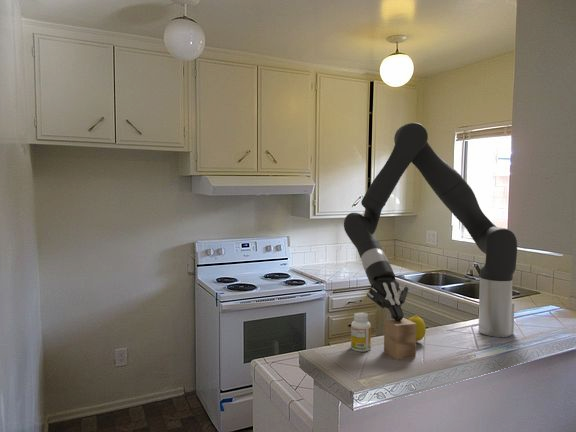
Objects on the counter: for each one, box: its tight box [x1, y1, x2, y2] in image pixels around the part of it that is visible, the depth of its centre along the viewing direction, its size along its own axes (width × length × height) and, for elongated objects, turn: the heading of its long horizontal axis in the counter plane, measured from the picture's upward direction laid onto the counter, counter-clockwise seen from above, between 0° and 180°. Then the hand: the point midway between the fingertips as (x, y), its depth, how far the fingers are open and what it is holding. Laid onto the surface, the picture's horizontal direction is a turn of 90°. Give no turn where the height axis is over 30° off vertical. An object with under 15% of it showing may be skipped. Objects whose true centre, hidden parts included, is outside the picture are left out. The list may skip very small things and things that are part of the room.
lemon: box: [408, 314, 427, 343], centre depth 125 cm, size 6×6×8 cm
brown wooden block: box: [383, 317, 417, 360], centre depth 115 cm, size 6×6×9 cm
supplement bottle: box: [350, 312, 372, 353], centre depth 119 cm, size 5×5×10 cm
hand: (399, 319), depth 115 cm, fingers closed
